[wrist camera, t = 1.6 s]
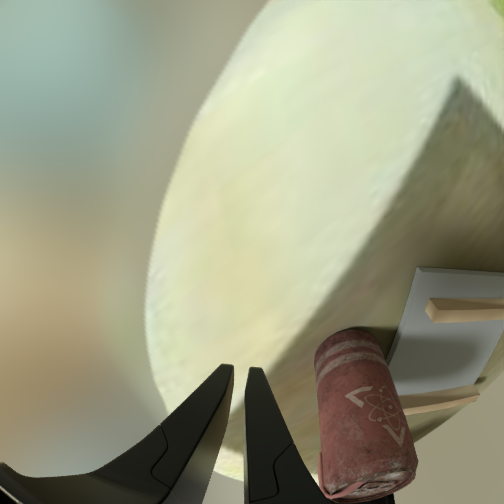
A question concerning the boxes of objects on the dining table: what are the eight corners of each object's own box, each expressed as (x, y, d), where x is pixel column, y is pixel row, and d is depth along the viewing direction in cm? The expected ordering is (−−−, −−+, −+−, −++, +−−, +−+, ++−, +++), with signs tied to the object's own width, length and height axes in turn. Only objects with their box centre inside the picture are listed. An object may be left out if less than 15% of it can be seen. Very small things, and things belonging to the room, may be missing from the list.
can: (303, 338, 24) (310, 489, 11) (374, 317, 22) (426, 459, 9) (318, 382, 26) (327, 511, 13) (380, 364, 24) (416, 489, 11)
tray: (458, 397, 26) (466, 413, 23) (363, 409, 27) (367, 430, 24) (519, 273, 19) (535, 286, 16) (416, 266, 20) (432, 283, 18)
